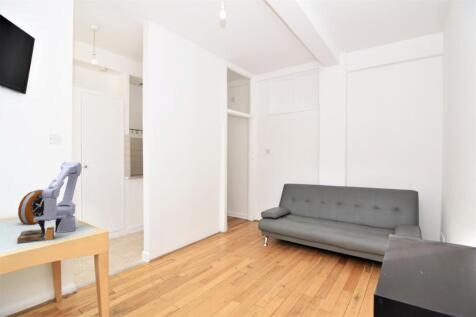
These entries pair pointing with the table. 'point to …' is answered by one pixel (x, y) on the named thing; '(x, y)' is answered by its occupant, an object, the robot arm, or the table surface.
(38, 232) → the shelf
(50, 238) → the orange upright block
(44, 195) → the robot arm
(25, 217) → the alarm clock
